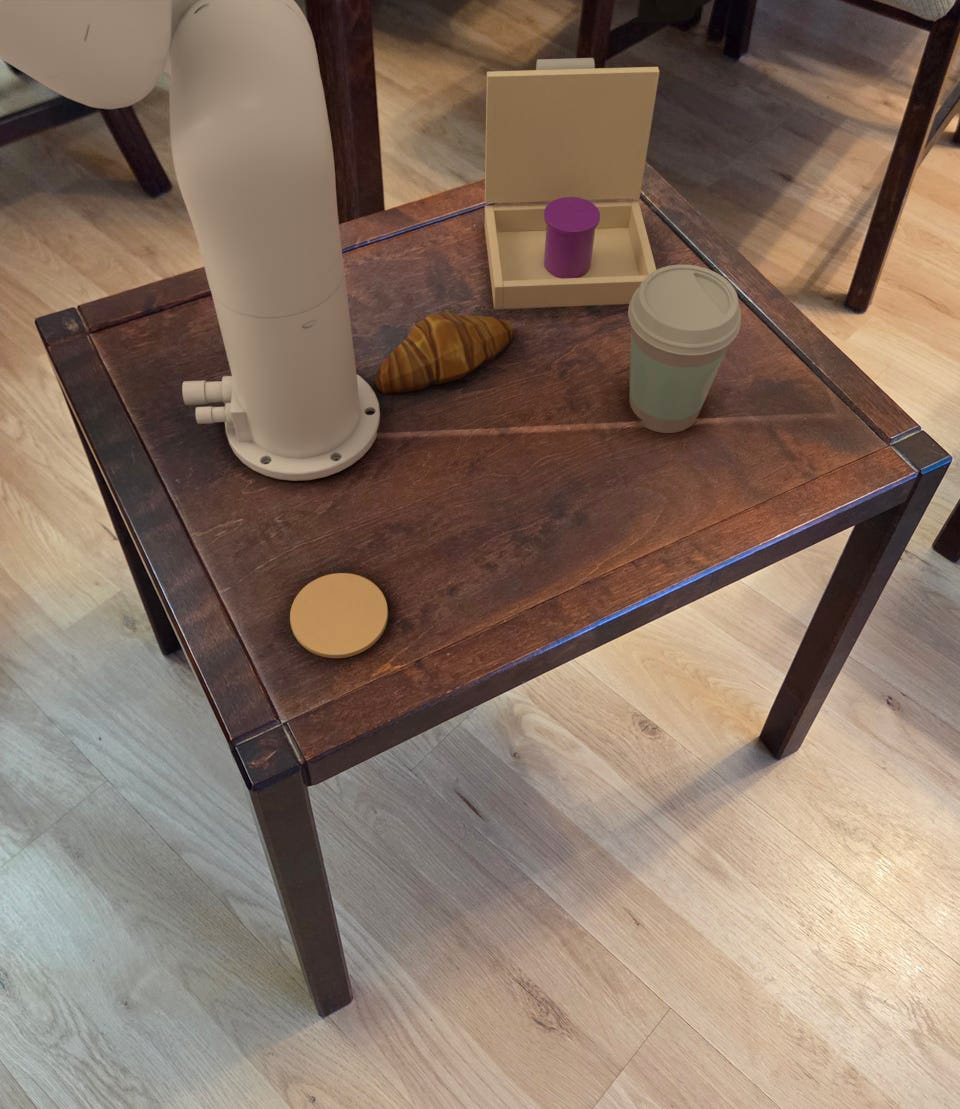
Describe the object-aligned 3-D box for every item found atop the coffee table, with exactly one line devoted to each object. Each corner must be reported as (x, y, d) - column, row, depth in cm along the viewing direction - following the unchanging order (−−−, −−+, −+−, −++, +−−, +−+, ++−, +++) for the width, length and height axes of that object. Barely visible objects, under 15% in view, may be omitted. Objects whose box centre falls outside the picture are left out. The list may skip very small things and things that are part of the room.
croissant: (490, 316, 95) (492, 272, 91) (532, 362, 92) (535, 317, 88) (357, 371, 91) (352, 327, 87) (396, 421, 87) (392, 377, 83)
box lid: (659, 71, 89) (648, 36, 92) (487, 76, 88) (482, 41, 92) (639, 198, 99) (630, 163, 102) (485, 203, 98) (480, 168, 102)
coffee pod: (543, 282, 97) (547, 232, 92) (537, 247, 99) (541, 197, 95) (597, 280, 97) (603, 230, 92) (590, 245, 100) (596, 195, 95)
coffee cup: (711, 453, 86) (742, 343, 76) (606, 437, 87) (624, 326, 77) (718, 380, 91) (749, 267, 81) (619, 365, 92) (638, 252, 82)
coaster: (289, 661, 74) (288, 657, 74) (292, 579, 78) (291, 575, 78) (389, 655, 74) (388, 652, 74) (387, 574, 78) (386, 570, 78)
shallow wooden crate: (654, 309, 96) (659, 280, 93) (493, 315, 95) (494, 287, 92) (633, 229, 102) (638, 199, 100) (484, 234, 102) (484, 205, 99)
